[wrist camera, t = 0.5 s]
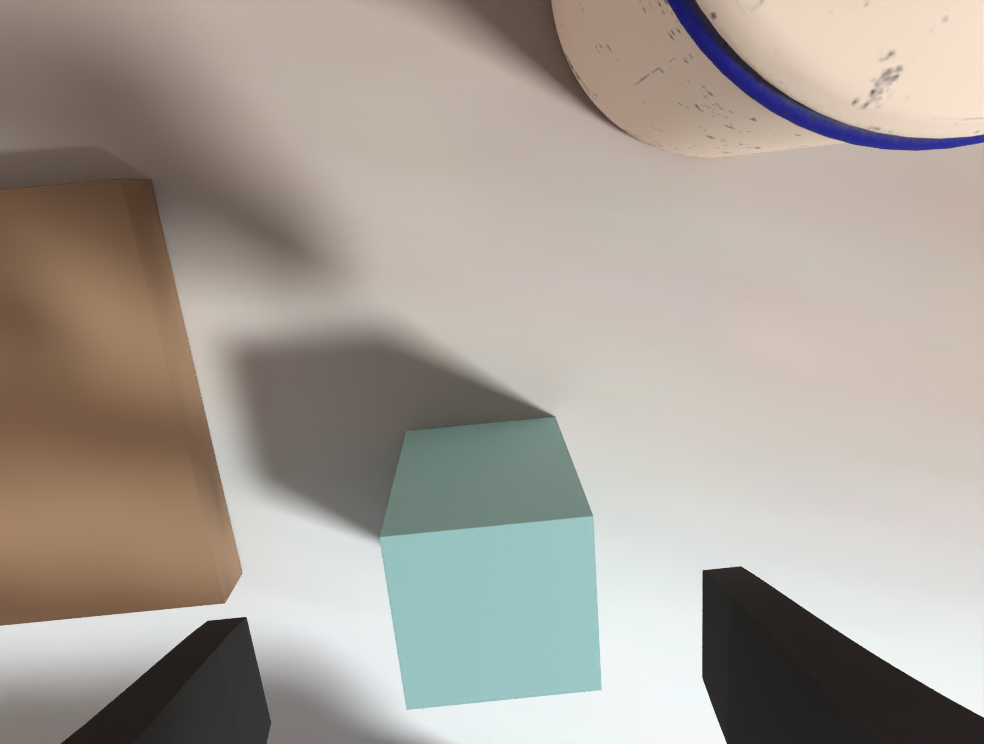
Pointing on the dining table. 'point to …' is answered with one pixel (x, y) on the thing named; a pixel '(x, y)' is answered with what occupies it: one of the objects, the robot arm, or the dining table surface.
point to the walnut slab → (101, 415)
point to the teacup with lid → (781, 71)
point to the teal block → (491, 565)
